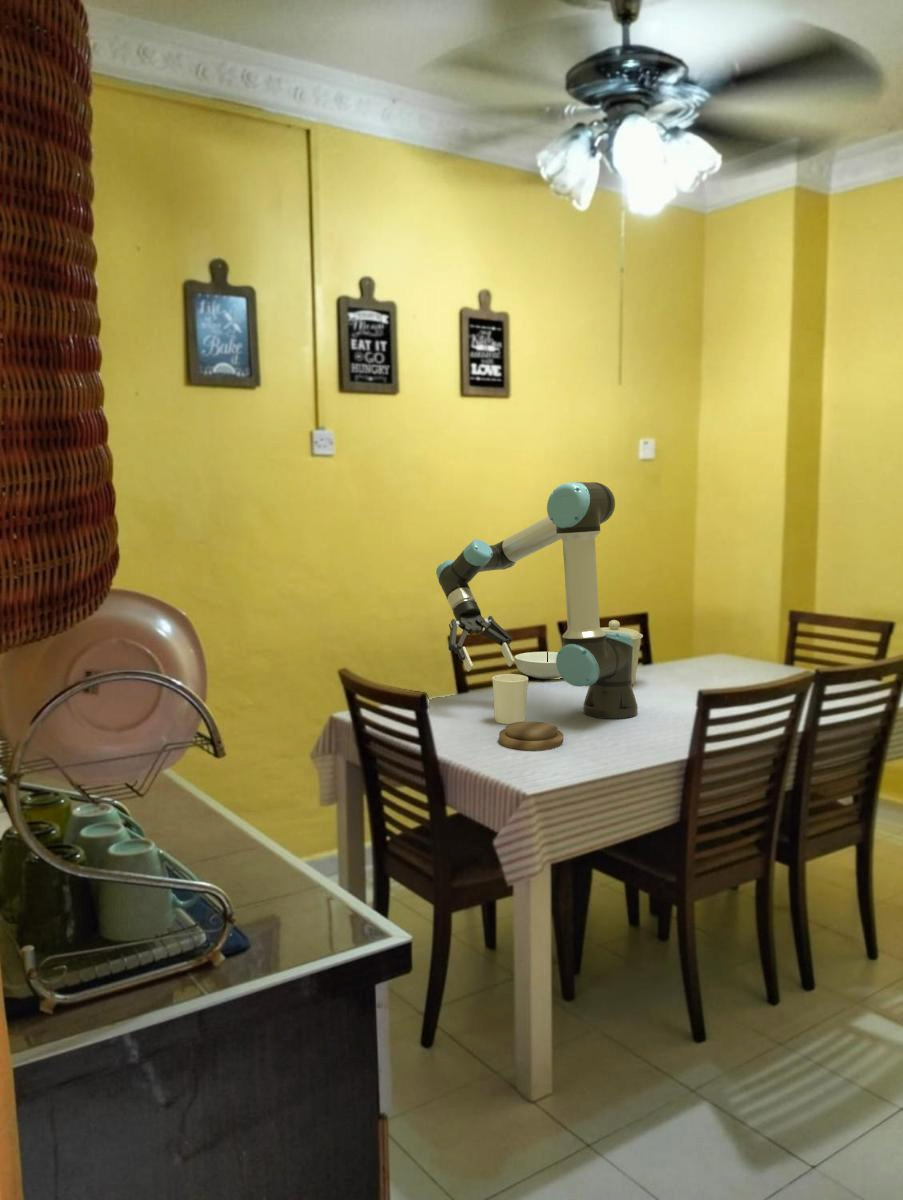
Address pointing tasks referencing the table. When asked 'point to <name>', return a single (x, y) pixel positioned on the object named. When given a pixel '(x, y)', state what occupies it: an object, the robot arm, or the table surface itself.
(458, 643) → the robot arm
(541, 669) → the serving bowl
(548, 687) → the table surface
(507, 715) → the candle holder
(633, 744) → the table surface
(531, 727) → the walnut pedestal
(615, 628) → the canister
